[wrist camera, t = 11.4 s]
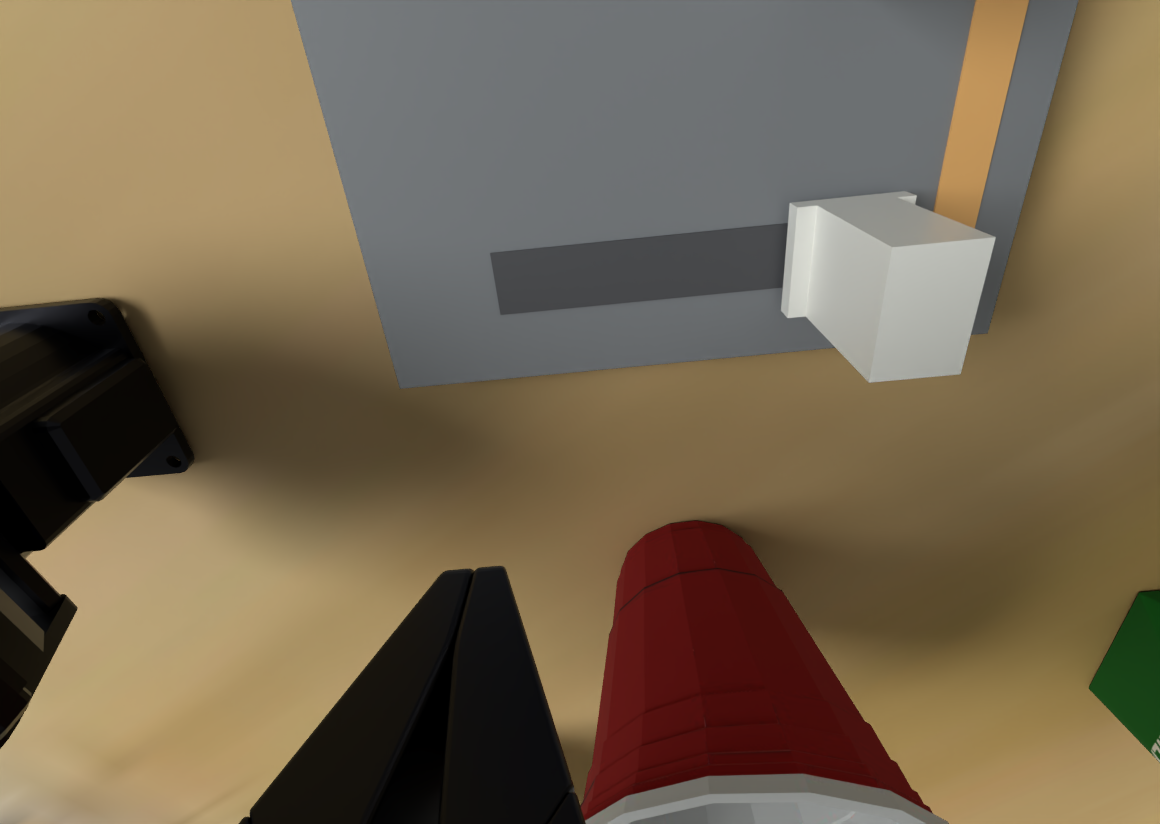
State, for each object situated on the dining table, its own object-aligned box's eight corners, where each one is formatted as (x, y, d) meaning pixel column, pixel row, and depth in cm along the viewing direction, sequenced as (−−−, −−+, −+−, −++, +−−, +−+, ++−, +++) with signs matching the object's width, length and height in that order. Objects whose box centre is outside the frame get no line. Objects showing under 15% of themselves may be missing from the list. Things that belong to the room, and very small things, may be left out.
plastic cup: (516, 514, 24) (478, 862, 13) (786, 435, 22) (981, 762, 12) (601, 676, 29) (621, 1016, 19) (824, 622, 27) (983, 962, 17)
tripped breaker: (780, 310, 17) (845, 384, 13) (789, 202, 16) (866, 249, 12) (886, 300, 17) (983, 371, 13) (905, 191, 16) (1022, 234, 12)
